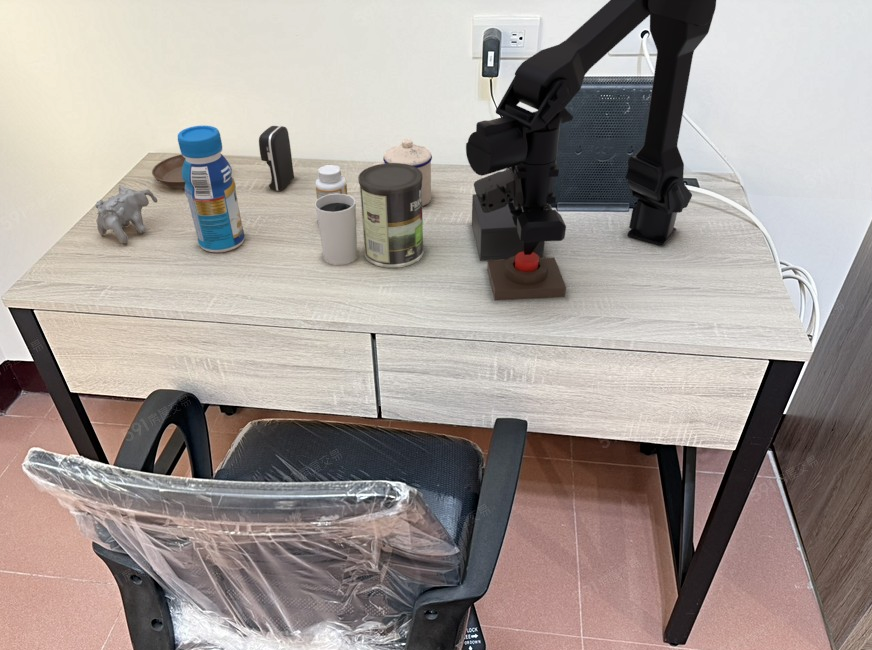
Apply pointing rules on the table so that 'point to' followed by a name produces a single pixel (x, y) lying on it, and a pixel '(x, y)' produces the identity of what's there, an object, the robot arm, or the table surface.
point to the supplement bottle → (330, 181)
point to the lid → (494, 218)
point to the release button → (526, 262)
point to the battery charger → (277, 156)
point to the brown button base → (525, 280)
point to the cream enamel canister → (413, 163)
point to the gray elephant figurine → (122, 212)
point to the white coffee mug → (337, 228)
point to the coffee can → (392, 214)
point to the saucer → (170, 172)
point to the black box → (498, 242)
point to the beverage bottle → (210, 189)
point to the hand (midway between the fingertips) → (527, 253)
